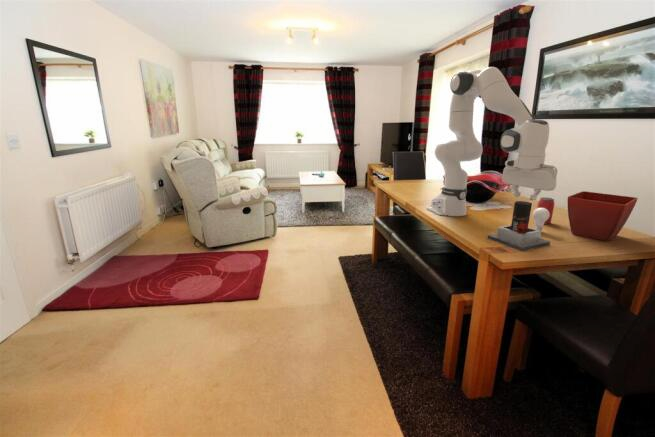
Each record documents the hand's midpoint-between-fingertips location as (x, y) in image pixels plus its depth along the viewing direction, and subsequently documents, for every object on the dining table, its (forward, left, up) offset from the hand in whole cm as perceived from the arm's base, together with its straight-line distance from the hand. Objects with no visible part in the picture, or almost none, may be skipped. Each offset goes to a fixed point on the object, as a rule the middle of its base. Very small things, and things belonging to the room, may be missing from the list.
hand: (524, 198), depth 127 cm
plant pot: (+8, +37, -19) cm, 42 cm away
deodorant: (0, 0, -17) cm, 17 cm away
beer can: (-13, +35, -19) cm, 42 cm away
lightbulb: (-5, +20, -19) cm, 28 cm away
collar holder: (0, 0, -19) cm, 19 cm away
